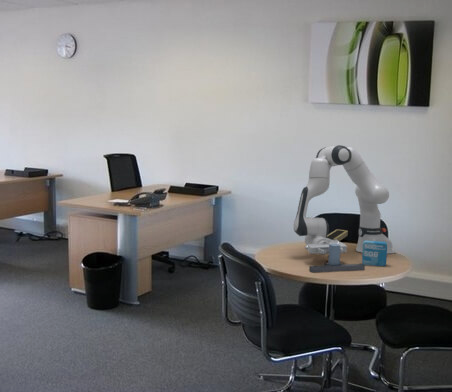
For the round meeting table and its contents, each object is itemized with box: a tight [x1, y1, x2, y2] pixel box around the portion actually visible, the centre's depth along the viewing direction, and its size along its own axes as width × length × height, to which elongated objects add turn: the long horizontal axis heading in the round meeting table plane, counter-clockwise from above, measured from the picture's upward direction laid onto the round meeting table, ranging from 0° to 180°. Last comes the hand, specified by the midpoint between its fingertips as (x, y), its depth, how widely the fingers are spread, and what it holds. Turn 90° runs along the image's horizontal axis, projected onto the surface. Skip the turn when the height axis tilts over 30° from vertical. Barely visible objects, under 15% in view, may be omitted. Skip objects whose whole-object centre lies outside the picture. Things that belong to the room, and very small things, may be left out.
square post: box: [327, 244, 341, 265], centre depth 265 cm, size 4×4×12 cm
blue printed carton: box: [361, 240, 388, 267], centre depth 274 cm, size 12×4×12 cm, turn 75°
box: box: [327, 228, 349, 242], centre depth 327 cm, size 8×22×5 cm, turn 142°
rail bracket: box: [308, 261, 366, 273], centre depth 264 cm, size 28×8×2 cm, turn 103°
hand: (333, 252), depth 266 cm, fingers open, 8 cm apart
